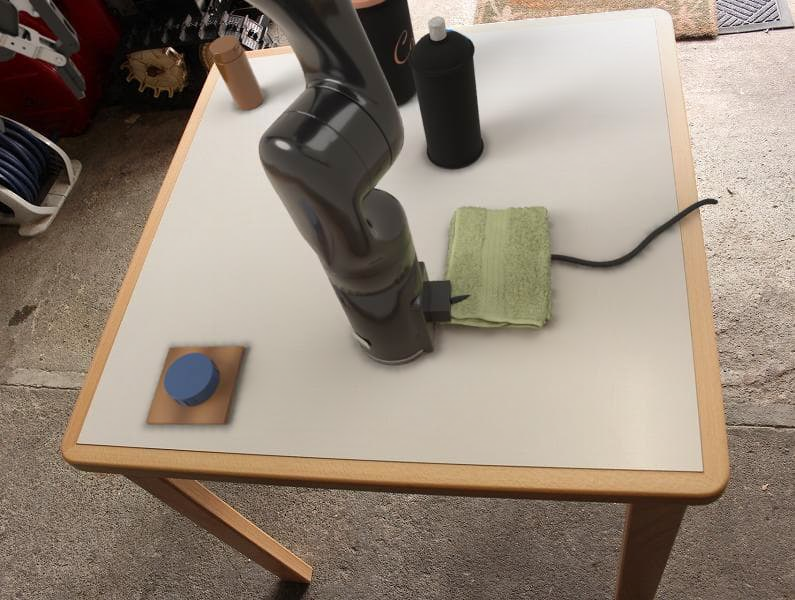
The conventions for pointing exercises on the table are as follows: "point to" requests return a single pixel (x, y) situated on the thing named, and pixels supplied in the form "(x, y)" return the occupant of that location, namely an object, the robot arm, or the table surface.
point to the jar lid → (191, 379)
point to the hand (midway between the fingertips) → (41, 111)
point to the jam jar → (237, 72)
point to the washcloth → (500, 267)
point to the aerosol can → (447, 95)
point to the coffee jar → (390, 42)
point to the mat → (212, 408)
